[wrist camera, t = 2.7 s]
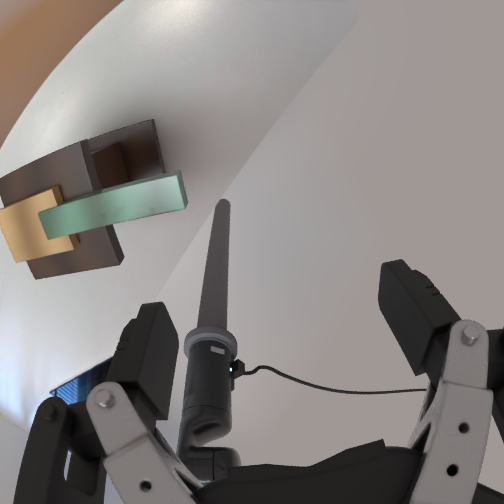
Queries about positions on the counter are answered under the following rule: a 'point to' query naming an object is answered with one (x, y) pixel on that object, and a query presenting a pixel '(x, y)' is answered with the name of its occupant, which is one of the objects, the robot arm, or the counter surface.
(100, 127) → the counter surface
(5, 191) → the brown pedestal stand
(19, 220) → the spatula
